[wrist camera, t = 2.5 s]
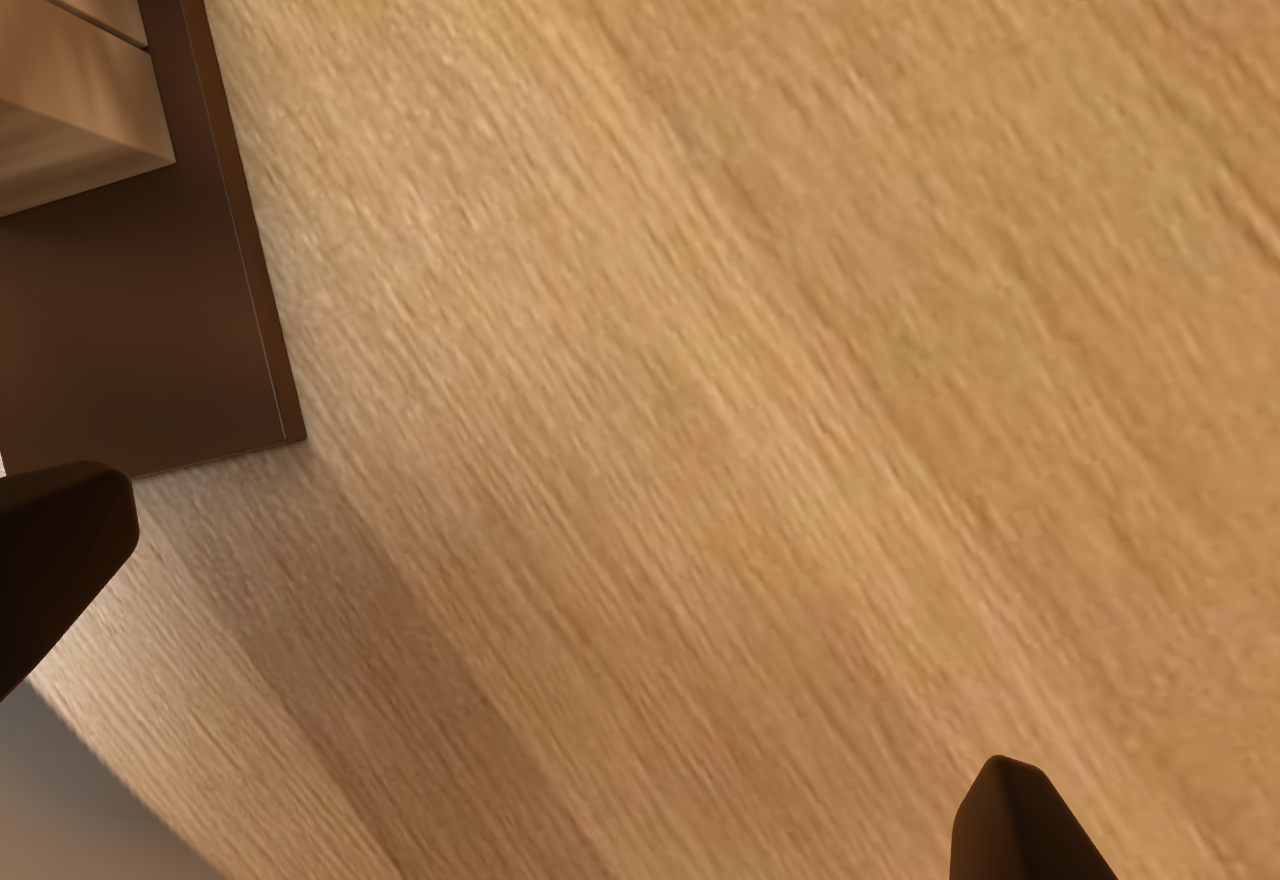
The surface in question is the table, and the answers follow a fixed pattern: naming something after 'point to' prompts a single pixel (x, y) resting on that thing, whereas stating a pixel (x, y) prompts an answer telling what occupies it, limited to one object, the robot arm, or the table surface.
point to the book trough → (128, 247)
